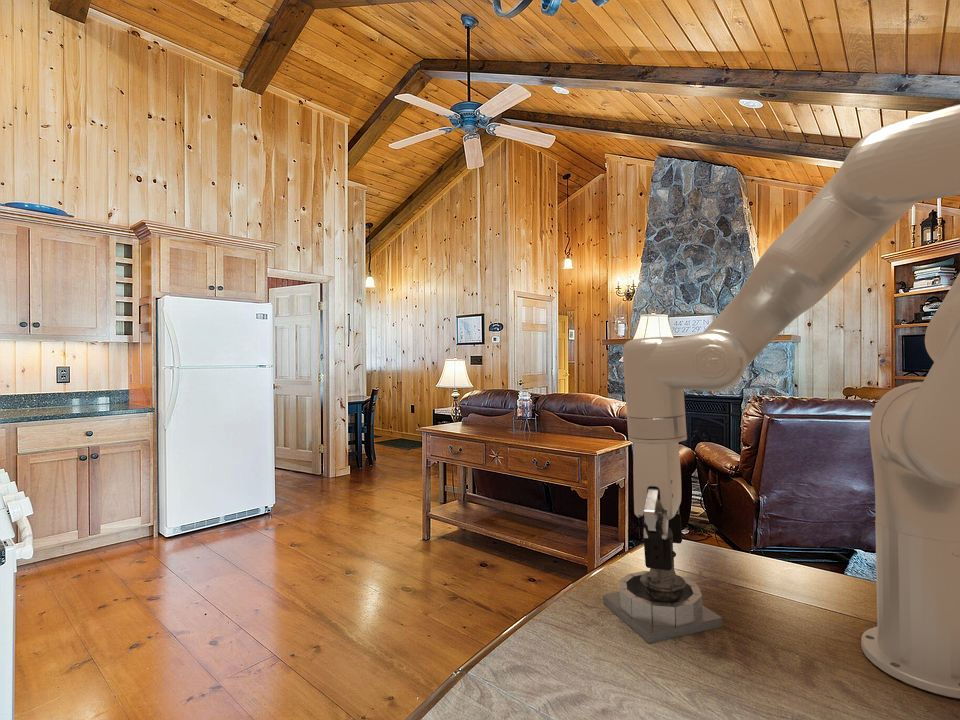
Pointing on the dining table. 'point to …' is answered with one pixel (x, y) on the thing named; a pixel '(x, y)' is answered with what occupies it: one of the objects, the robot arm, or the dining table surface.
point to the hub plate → (662, 630)
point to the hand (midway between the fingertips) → (664, 554)
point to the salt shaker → (663, 581)
